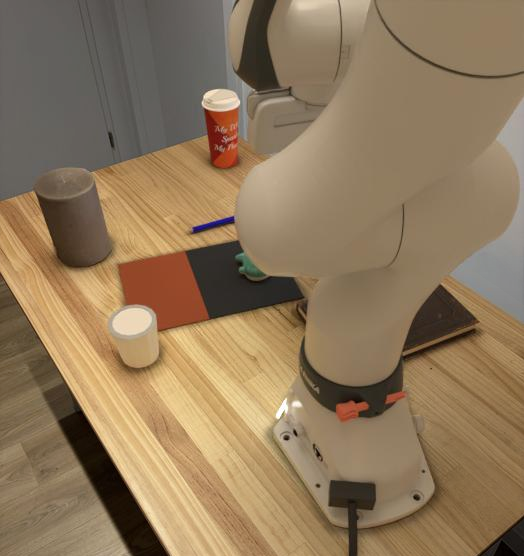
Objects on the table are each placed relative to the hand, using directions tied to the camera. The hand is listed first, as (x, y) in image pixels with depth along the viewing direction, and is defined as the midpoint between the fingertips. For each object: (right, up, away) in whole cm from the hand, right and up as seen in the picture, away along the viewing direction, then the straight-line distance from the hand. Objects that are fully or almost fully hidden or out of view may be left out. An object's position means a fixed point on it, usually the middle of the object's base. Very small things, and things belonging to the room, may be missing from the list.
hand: (313, 169), depth 84 cm
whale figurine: (-9, -14, +11) cm, 20 cm away
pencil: (-14, -4, +20) cm, 25 cm away
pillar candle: (-40, -10, +15) cm, 44 cm away
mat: (-17, -16, +9) cm, 25 cm away
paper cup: (-16, +13, +35) cm, 41 cm away
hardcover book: (+11, -23, +3) cm, 26 cm away
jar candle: (-26, -28, -1) cm, 39 cm away
